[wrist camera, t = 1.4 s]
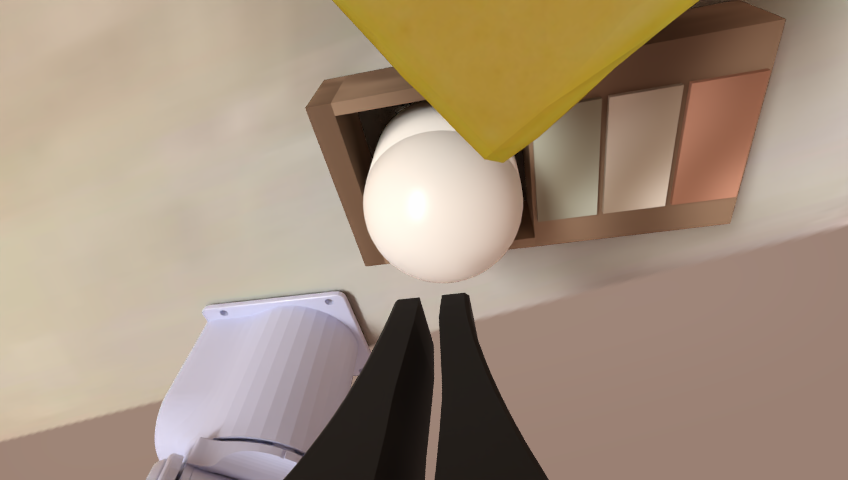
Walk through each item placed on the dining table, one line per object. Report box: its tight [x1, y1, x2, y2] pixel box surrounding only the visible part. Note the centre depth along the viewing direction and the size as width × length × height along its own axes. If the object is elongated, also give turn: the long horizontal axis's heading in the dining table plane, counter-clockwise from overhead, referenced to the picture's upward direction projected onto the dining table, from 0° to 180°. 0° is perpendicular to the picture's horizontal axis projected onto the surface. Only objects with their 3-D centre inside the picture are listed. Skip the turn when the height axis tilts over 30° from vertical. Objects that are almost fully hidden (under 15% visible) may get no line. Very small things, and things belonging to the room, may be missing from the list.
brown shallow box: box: [306, 0, 786, 266], centre depth 19 cm, size 16×8×3 cm, turn 102°
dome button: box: [363, 100, 523, 283], centre depth 17 cm, size 6×6×6 cm
